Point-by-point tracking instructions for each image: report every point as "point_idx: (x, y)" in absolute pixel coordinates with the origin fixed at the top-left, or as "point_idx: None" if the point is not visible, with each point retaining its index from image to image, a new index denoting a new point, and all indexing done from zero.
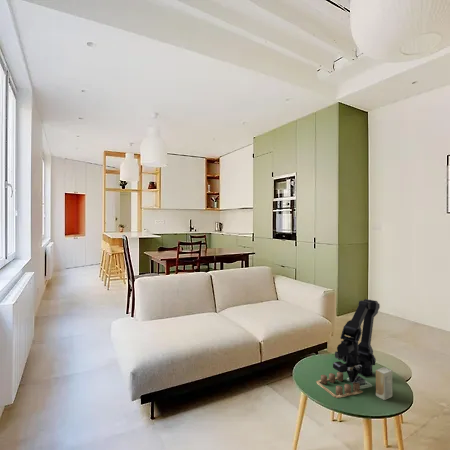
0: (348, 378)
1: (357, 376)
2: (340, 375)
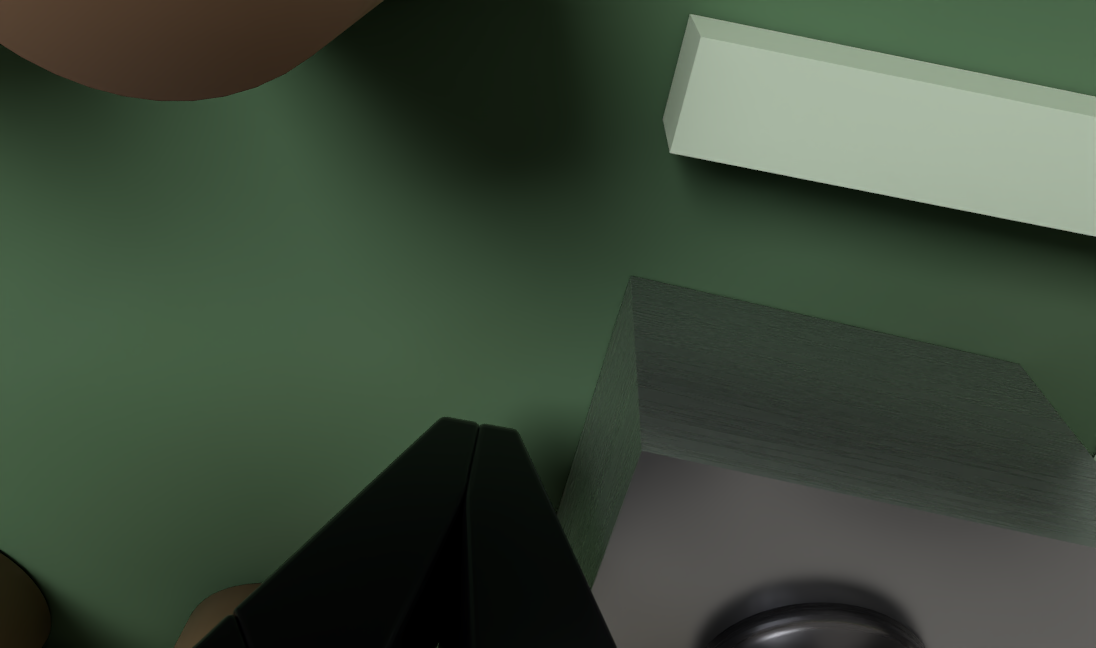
0: (731, 109)
1: (987, 595)
2: (4, 7)
